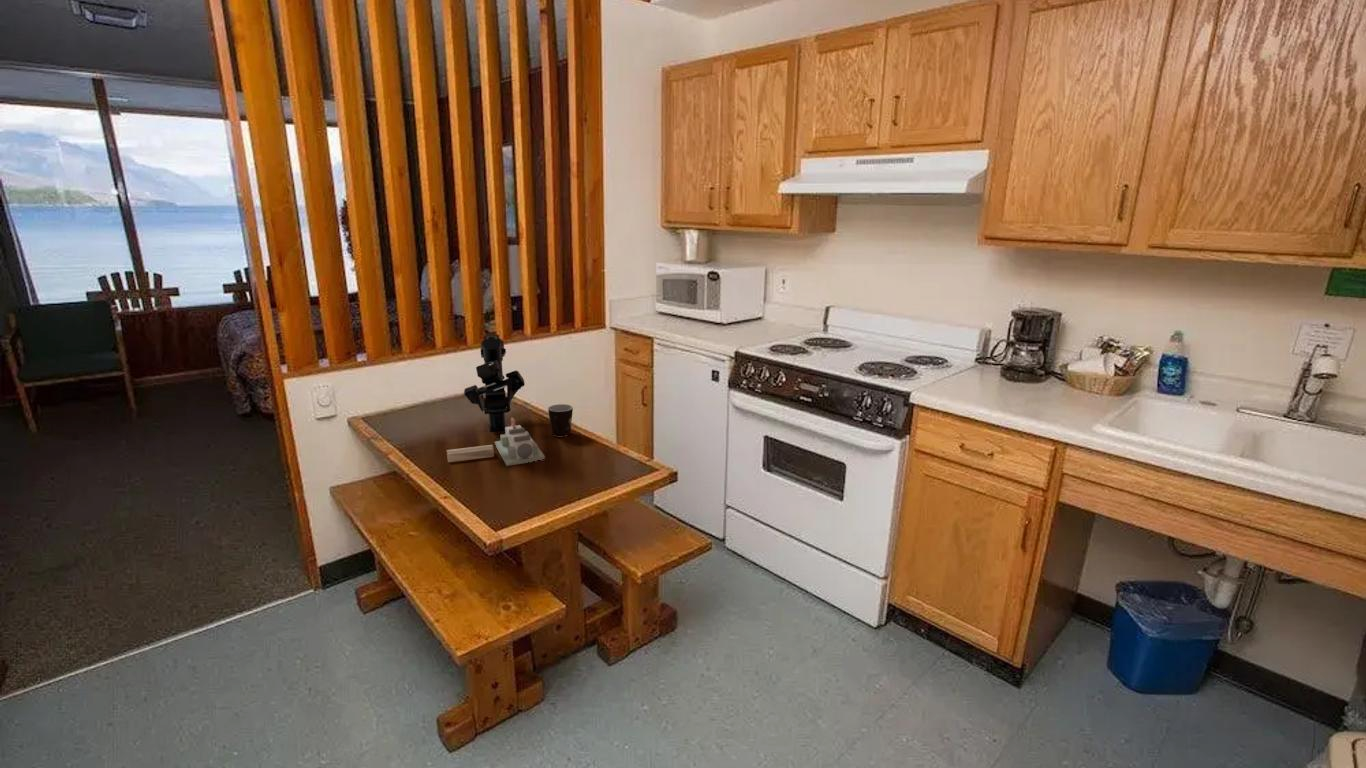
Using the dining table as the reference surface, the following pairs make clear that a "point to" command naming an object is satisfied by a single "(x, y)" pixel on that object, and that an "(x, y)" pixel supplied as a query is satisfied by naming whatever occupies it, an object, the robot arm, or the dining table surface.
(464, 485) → the dining table surface
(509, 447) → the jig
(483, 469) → the dining table surface
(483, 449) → the tan rectangular block
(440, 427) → the dining table surface
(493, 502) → the dining table surface
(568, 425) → the coffee mug
